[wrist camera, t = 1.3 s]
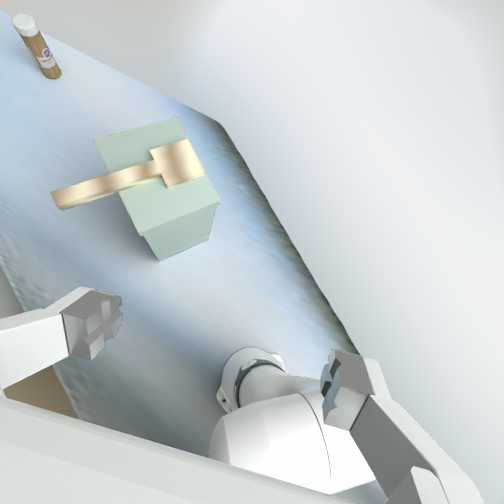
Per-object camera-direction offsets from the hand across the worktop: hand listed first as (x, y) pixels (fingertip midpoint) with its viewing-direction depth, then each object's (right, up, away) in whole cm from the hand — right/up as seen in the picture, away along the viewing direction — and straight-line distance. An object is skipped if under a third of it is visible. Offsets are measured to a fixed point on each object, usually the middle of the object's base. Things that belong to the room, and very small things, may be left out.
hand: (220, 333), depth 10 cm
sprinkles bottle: (-54, +53, +61) cm, 97 cm away
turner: (-19, +15, +33) cm, 41 cm away
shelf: (-21, +11, +59) cm, 64 cm away
